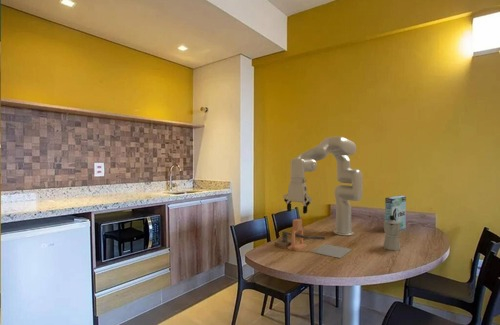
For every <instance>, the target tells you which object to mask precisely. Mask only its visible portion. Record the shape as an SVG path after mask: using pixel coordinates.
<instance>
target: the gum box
mask: <svg viewBox="0 0 500 325" xmlns="http://www.w3.org/2000/svg"><path fill="white" fill-rule="evenodd" d="M384 203H385V204H384V205H385V206H384V207H385V208H384V221H386V220H390V215H393V216H394V220H395V221H398V222H400V223H401V226H400V231H401V230H405V229H406V219H407V218H406V217H407V215H406V214H407V206H406V205H407V204H406V203H407V195H397V196H396V195H395V196H391V197H385V201H384Z"/></svg>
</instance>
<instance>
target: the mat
mask: <svg viewBox="0 0 500 325" xmlns="http://www.w3.org/2000/svg"><path fill="white" fill-rule="evenodd" d="M351 251H353V249H352V248H347V247H344V246H343V247H342V246H336V245H332V244H328V243H326V244H323V245H321V246H319V247H318V248H316V249H314V250H313V251H311V253H312V254H318V255H322V256H326V257H327V256H328V257H331V258H335V259H340V260H341V259H342V258H343V257H345V256H346V255H347V254H349V253H350V252H351Z"/></svg>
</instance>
